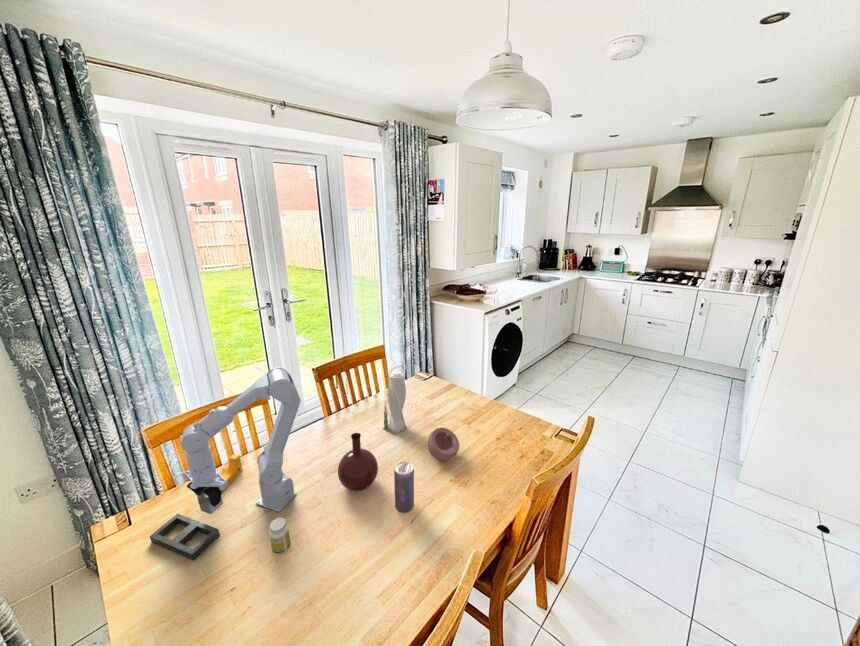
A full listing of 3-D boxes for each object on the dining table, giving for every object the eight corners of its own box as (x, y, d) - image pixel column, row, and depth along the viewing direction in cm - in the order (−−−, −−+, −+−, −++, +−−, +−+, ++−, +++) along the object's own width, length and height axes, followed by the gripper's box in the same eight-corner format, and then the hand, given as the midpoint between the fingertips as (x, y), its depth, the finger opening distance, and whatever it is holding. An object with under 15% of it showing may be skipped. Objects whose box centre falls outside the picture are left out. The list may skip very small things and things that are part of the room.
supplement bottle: (285, 535, 99) (281, 513, 96) (294, 545, 96) (290, 522, 93) (269, 547, 95) (264, 524, 93) (277, 558, 93) (273, 534, 90)
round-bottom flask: (359, 465, 126) (356, 419, 120) (386, 481, 119) (384, 433, 113) (331, 488, 116) (326, 438, 110) (358, 507, 109) (354, 455, 102)
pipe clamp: (231, 468, 124) (228, 453, 122) (242, 469, 124) (239, 455, 122) (206, 494, 113) (202, 478, 111) (218, 496, 112) (215, 480, 110)
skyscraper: (396, 419, 154) (395, 362, 145) (410, 426, 149) (410, 368, 140) (383, 429, 147) (381, 369, 138) (397, 436, 143) (396, 375, 134)
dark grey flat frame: (220, 535, 99) (218, 529, 98) (193, 561, 92) (192, 554, 91) (179, 519, 103) (177, 513, 103) (151, 542, 96) (149, 536, 96)
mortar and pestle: (446, 473, 123) (447, 446, 120) (420, 458, 130) (421, 433, 126) (464, 455, 132) (465, 430, 129) (439, 442, 139) (440, 418, 136)
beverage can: (416, 501, 111) (416, 463, 106) (409, 516, 106) (409, 477, 101) (399, 496, 113) (399, 459, 108) (391, 511, 108) (390, 472, 103)
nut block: (223, 503, 103) (219, 487, 101) (211, 514, 100) (207, 498, 98) (212, 500, 104) (208, 484, 103) (200, 510, 101) (196, 494, 99)
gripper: (169, 467, 96) (179, 505, 100) (208, 480, 91) (217, 519, 96) (192, 451, 102) (202, 487, 106) (230, 462, 98) (238, 500, 102)
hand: (211, 501), depth 102 cm, fingers closed on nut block, 4 cm apart
